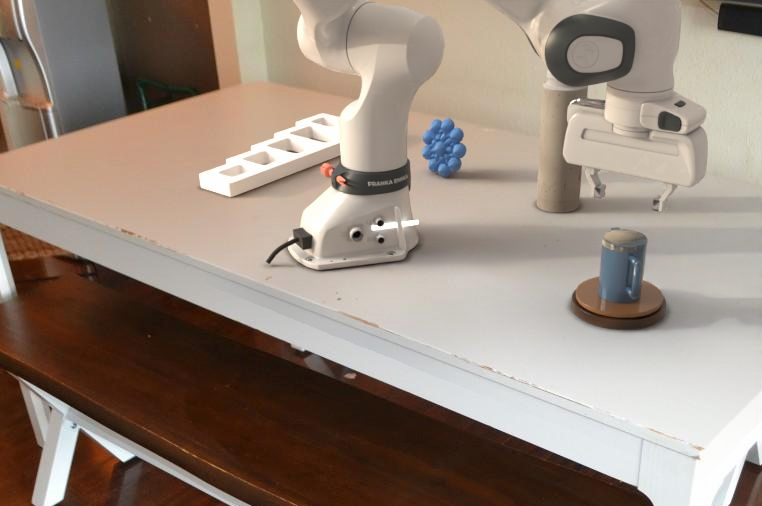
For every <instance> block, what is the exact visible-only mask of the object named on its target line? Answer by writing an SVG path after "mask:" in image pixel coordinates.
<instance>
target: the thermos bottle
mask: <svg viewBox="0 0 762 506" xmlns="http://www.w3.org/2000/svg"><path fill="white" fill-rule="evenodd" d="M545 78H546V80H545V81H544V82H543V83H542V88H541V89H542V91H541V106H540V107H541V110H540V128H539V145H538V146H539V150H538V152H539V153H538V157H539V158H538V170H537V187H536V189H537V190H536V207H538V208H539V209H540V210H542V211H545V212H549V213H555V214H556V213H557V214H558V213H561V214H563V213H569V212H573V211H575V210H577V209H578V208H579V207H580V198H581V187H582V172H583V171H582V170H583V166H580V165H575V164H570V163H567V162H566V160H565V158H564V156H563V147H564V140H565V135H566V131H567V127H568V122H567V110H568V106H569V104H570V103H571V102H572V101H573V100H575V99H578V97H587V98H588V95H589V94H588V93H589V86H582V87H573V86H569V85H566V84H563V83H561V82H560V81H558V80H557V79H556V78H555V77H554V76H553V75H552V74H551V73H550V72H549V70H548V69H547V71H546V76H545ZM575 103H576V104H578V103H577V102H575Z"/></svg>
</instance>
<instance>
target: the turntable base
mask: <svg viewBox="0 0 762 506" xmlns="http://www.w3.org/2000/svg"><path fill="white" fill-rule="evenodd" d="M570 304H571V310H572V312H573V313H574V315H575V316H576V317H577V318H579V319H581V320H582V321H584V322H586V323H588V324H590V325H593V326H595V327H599V328H604V329H608V330H609V329H610V330H617V331H632V330H640V329H645V328H648V327H652V326H654V325H656V324H657V323H659V322H661V320H662V319H663V318H664V317H665V315H666V309H667V300H666V298H665V296H664V295H663V304H662V306H661V307H660V308H659V309H658V310H657V311H655V312H653V313H651V314H648V315H645V316H641V317H633V318H618V317H610V316H605V315H600V314H597V313H594V312H592V311H589V310H587V309H586V308H584V307H583V306H581V305H580V304H579V303H578V301H577V300H576V289H575V290H574V291H572V295H571V303H570Z"/></svg>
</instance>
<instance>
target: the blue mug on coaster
mask: <svg viewBox="0 0 762 506" xmlns="http://www.w3.org/2000/svg"><path fill="white" fill-rule="evenodd" d="M648 241H649V240H648V237H647V235H646V234H644V233H642V232H640V231H636V230H633V229H621V228H620V227H618V226H615V227H611V228H610V230H609V231H606V232H605V233H603V236H602V243H601V254H600V264H599V276H595V277H591V278H588V279H586V280H584V281H582V282H581V283H580V284H578V285H577V287H576V289H575V290H576V300H577V301H578V303H579V304H580V305H581V306H583V307H584V308H586V309H587V310H589V311H592V312H594V313H597V314H600V315H605V316H610V317H618V318H633V317H641V316H645V315H648V314H651V313H653V312H655V311H657V310H658V309H659V308H660V307H661V306H662V304H663V296H664V294H663V292H662V291H661V289H660V288H659V287H657V286H656V285H655V284H653V283H651V282H649V281H647V280H645V279H644V273H645V265H646V257H647V249H648V248H647V247H648Z"/></svg>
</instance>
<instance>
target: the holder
mask: <svg viewBox="0 0 762 506" xmlns="http://www.w3.org/2000/svg"><path fill="white" fill-rule="evenodd" d="M339 117H340V116H337V115H332V114H329V113H324V112H321V113H318V114H315V115H313V116H309V117H306V118H304V119H301V120H300V119H299V120H297V121H295V126H292V127H289V128H286V129H284V130H280V131H277V132H274V133H273V138H270V139H268V140H264V141H261V142H258V143H255V144H253V145H250V150H248V151H246V152H243V153H240V154H237V155H234V156H231V157H228V158H226V159H225V164H222V165H219V166H217V167H214V168H211V169H207V170H205V171H203V172H200V173H199V174H198V177H199V184H200V188H201V189H203V190H207V191H210V192H214V193H217V194H219V195H222V196H226V197H229V198H233V197H235V196H238V195H241V194H243V193H246V192H249V191H251V190H254V189H256V188H259V187H262V186H265V185H267V184H269V183H273V182H275V181H278V180H280V179H282V178H286V177H288V176H290V175H293V174H296V173H299V172H301V171H304V170H306V169H308V168H309V169H310V168H312V167H314V166H317V165H319V164H322V163H325V162H327V161H330V160H332V159H335V158H338V157H341V153H340V136H339Z"/></svg>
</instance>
